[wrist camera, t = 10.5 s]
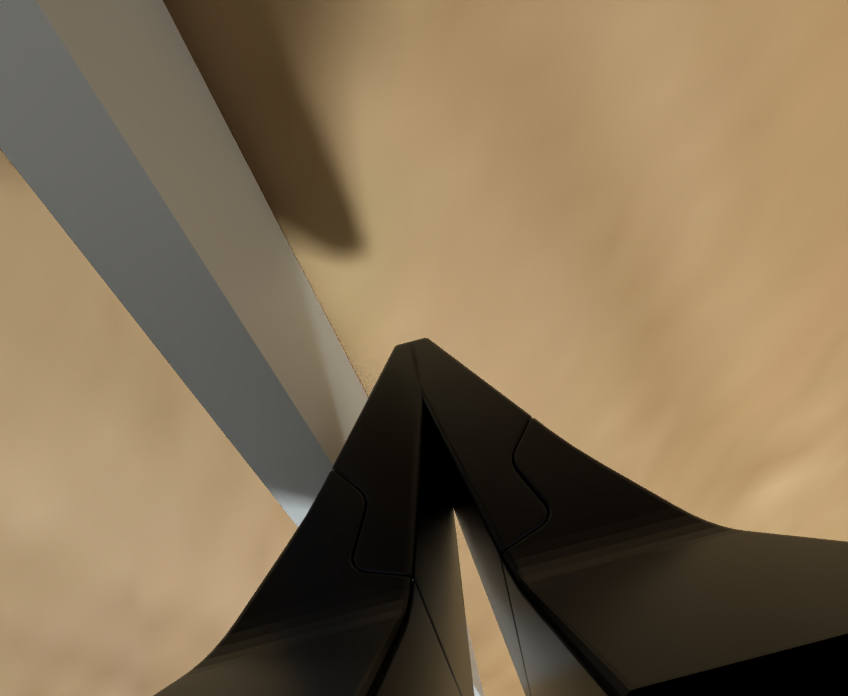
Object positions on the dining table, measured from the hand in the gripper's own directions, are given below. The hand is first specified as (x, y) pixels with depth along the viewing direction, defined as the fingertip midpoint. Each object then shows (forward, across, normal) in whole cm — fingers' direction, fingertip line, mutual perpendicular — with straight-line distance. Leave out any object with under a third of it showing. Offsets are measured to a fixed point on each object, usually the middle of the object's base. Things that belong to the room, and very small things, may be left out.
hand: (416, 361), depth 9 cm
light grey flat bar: (+2, +2, -2) cm, 4 cm away
